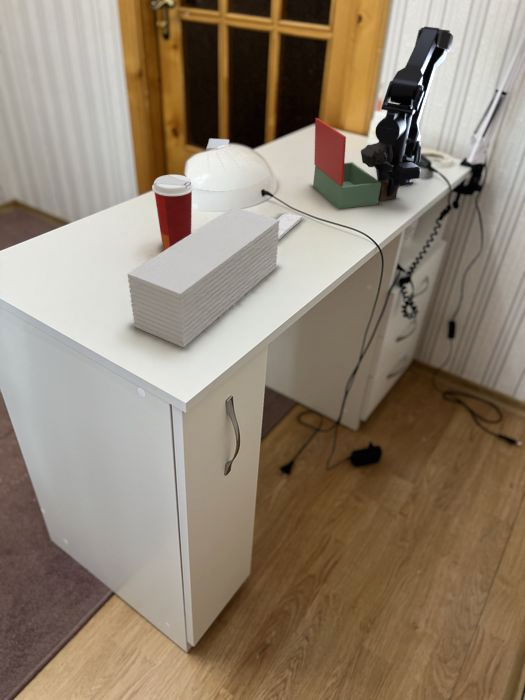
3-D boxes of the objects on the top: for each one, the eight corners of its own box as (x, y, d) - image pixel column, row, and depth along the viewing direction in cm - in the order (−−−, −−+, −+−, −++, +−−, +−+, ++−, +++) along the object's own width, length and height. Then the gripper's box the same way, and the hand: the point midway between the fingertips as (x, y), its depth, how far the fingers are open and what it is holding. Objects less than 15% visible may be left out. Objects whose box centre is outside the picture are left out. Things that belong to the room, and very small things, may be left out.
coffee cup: (202, 243, 118) (199, 177, 108) (185, 260, 112) (182, 191, 102) (168, 236, 120) (163, 170, 110) (150, 252, 114) (143, 184, 104)
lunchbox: (349, 182, 150) (352, 162, 146) (377, 204, 139) (381, 182, 135) (312, 186, 146) (315, 165, 143) (338, 209, 135) (341, 187, 132)
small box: (227, 188, 142) (227, 148, 136) (206, 187, 142) (205, 147, 136) (229, 177, 148) (230, 138, 142) (209, 176, 148) (209, 137, 142)
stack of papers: (233, 253, 115) (233, 206, 108) (276, 267, 111) (279, 220, 104) (134, 326, 93) (127, 273, 86) (183, 347, 89) (180, 293, 82)
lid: (317, 117, 135) (315, 118, 134) (346, 136, 124) (343, 137, 123) (316, 164, 142) (314, 164, 142) (343, 185, 131) (341, 186, 131)
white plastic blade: (254, 239, 120) (254, 234, 120) (283, 215, 131) (283, 211, 130) (273, 244, 119) (274, 239, 118) (301, 220, 129) (302, 215, 128)
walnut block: (388, 192, 145) (391, 178, 142) (396, 198, 142) (399, 184, 139) (372, 194, 143) (374, 180, 141) (380, 200, 140) (382, 186, 138)
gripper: (350, 124, 136) (341, 183, 146) (388, 147, 123) (376, 211, 133) (387, 121, 140) (376, 179, 150) (428, 144, 126) (414, 206, 136)
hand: (384, 193), depth 142 cm, fingers closed on walnut block, 4 cm apart
